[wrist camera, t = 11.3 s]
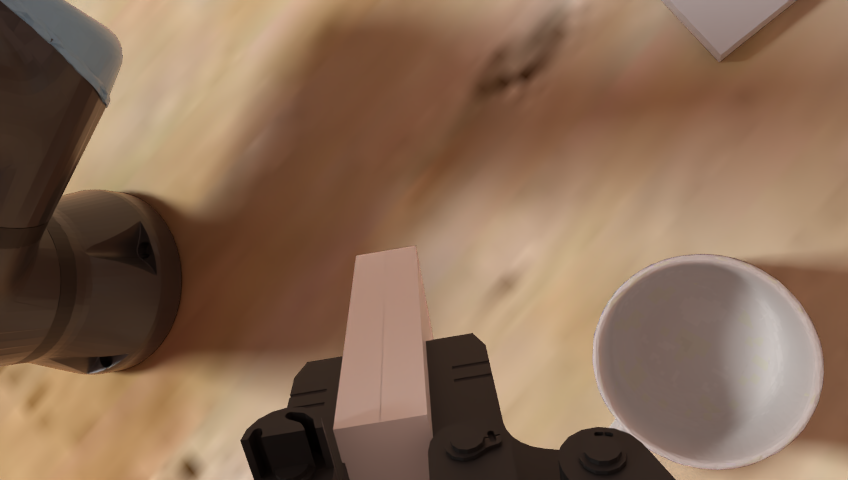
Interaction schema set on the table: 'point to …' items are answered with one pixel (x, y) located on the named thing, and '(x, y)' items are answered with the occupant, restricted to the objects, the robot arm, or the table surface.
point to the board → (725, 20)
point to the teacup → (708, 361)
